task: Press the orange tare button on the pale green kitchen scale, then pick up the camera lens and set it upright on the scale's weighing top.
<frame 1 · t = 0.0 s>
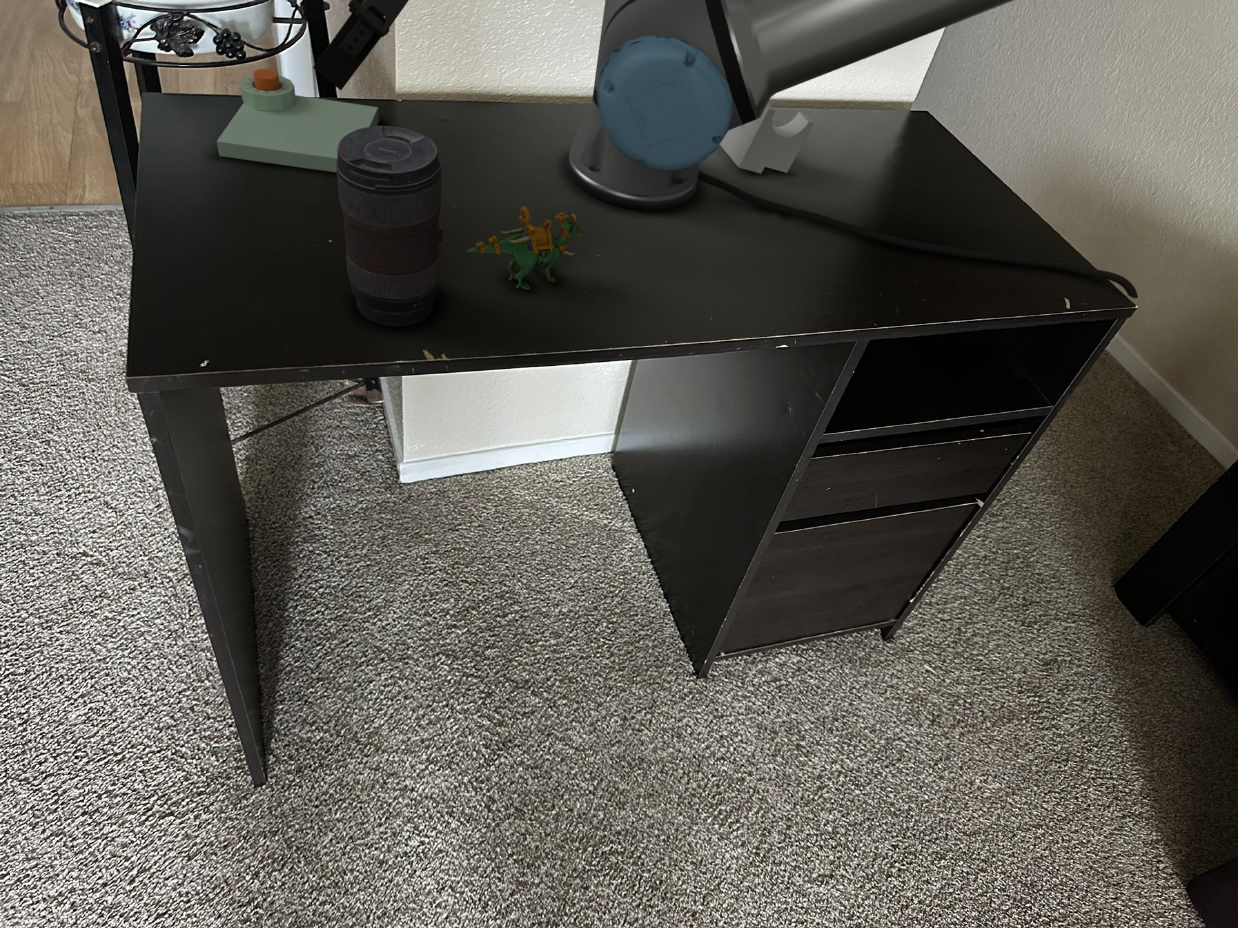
hand: (345, 47, 78), 15 cm above the table, tool tilted 35°, fingers open, 13 cm apart
camera lens: (394, 305, 78), on the table
scale: (303, 138, 96), on the table
tare button: (266, 81, 96), point 4 cm above the table, slide at 0.1 cm
bracket: (745, 149, 112), on the table
figurine: (522, 284, 84), on the table
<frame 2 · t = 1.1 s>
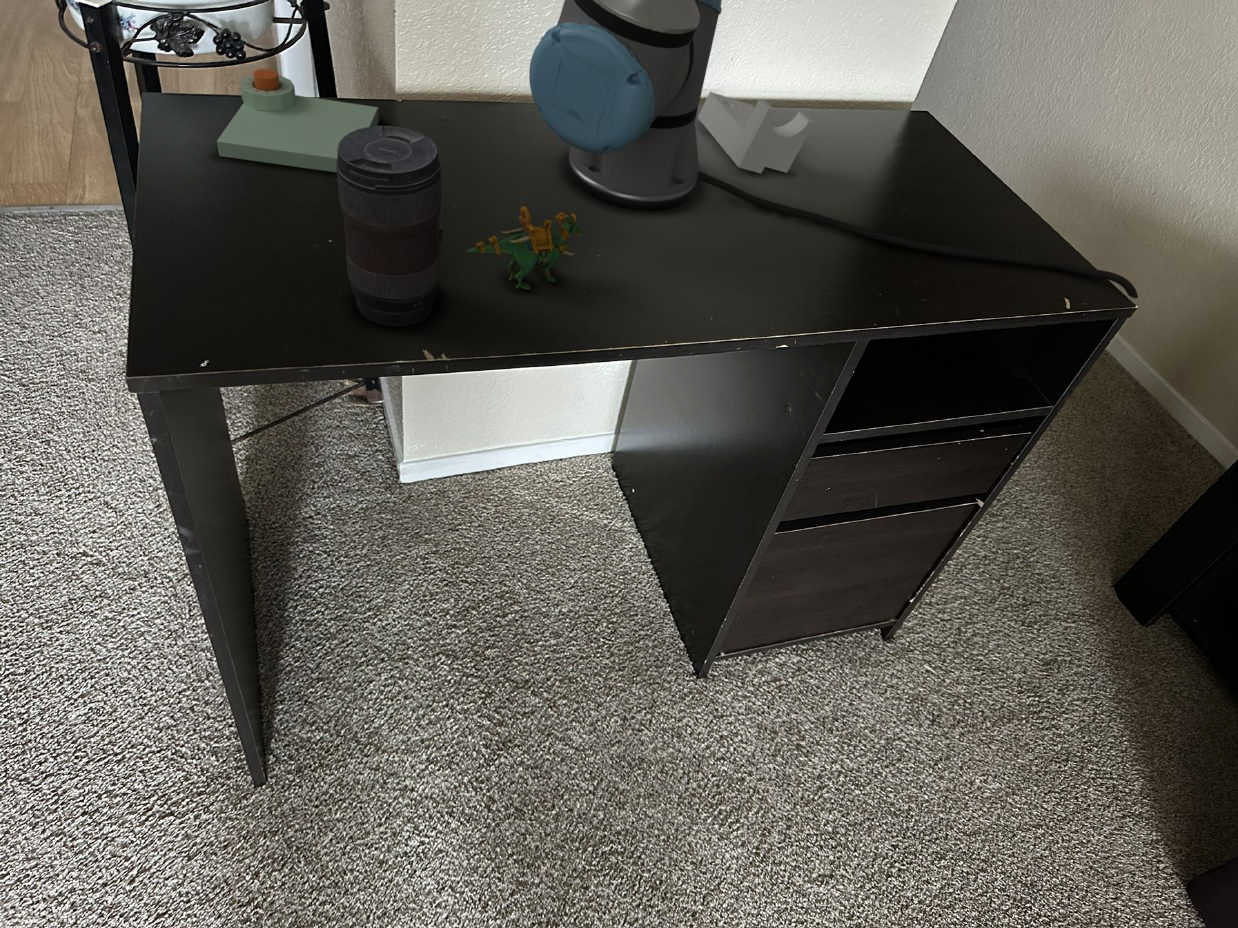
nothing on the table moved.
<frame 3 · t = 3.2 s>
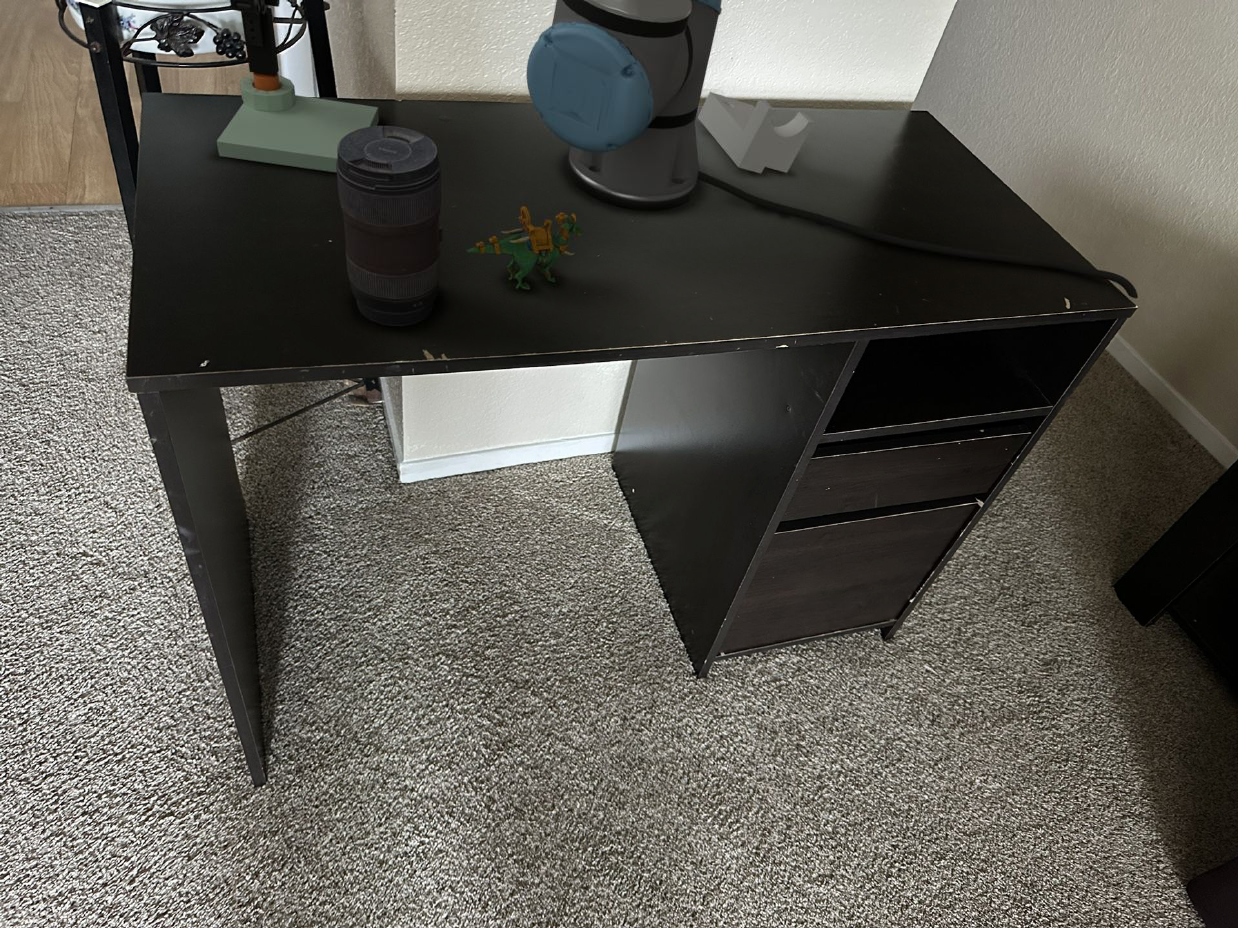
hand: (264, 71, 95), 5 cm above the table, tool pointing down, fingers closed
tare button: (266, 81, 96), point 4 cm above the table, slide at 0.1 cm, touching gripper
everything else where it was.
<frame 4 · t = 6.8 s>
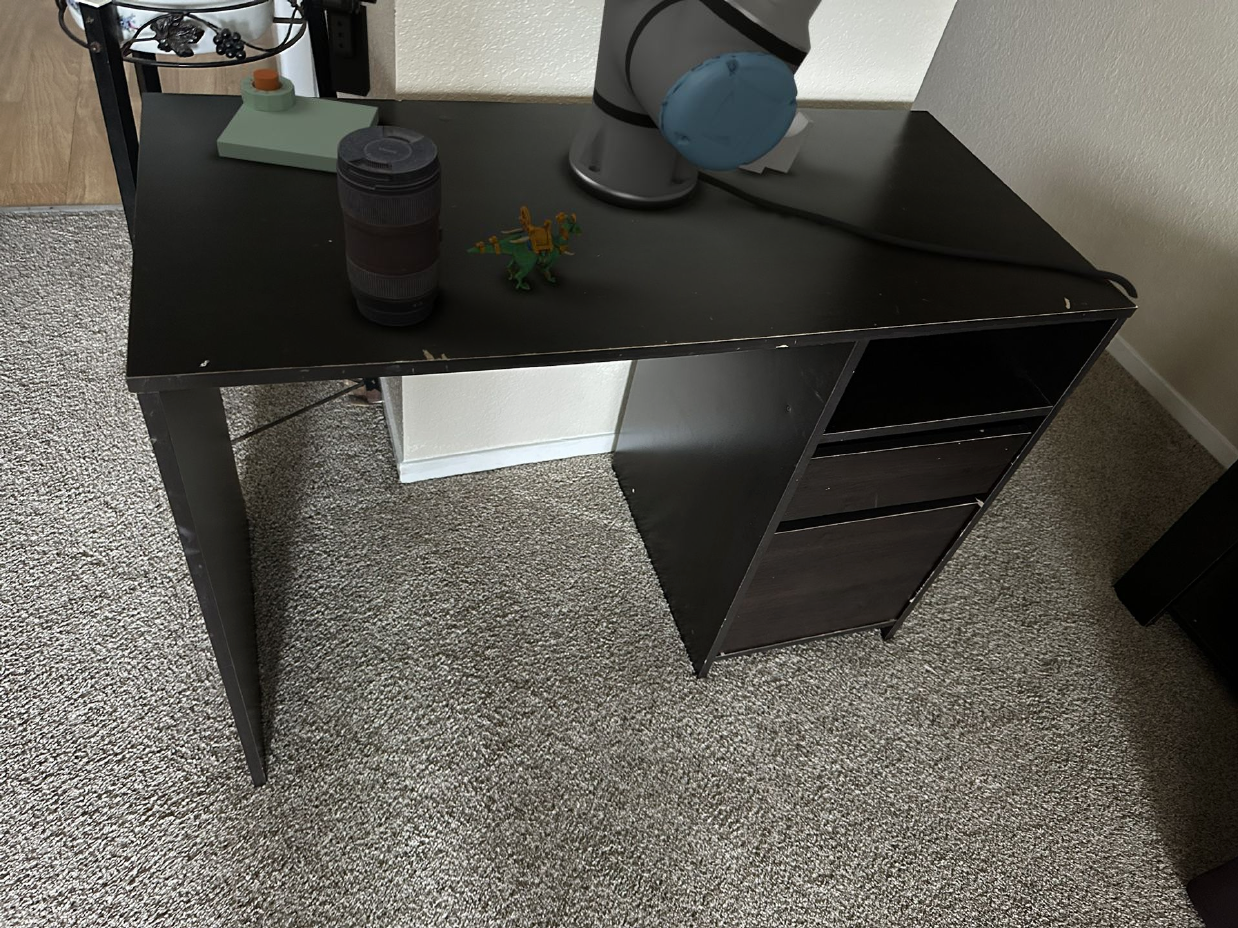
hand: (351, 90, 71), 16 cm above the table, tool pointing down, fingers closed
tare button: (266, 81, 96), point 4 cm above the table, slide at 0.1 cm
everything else where it was.
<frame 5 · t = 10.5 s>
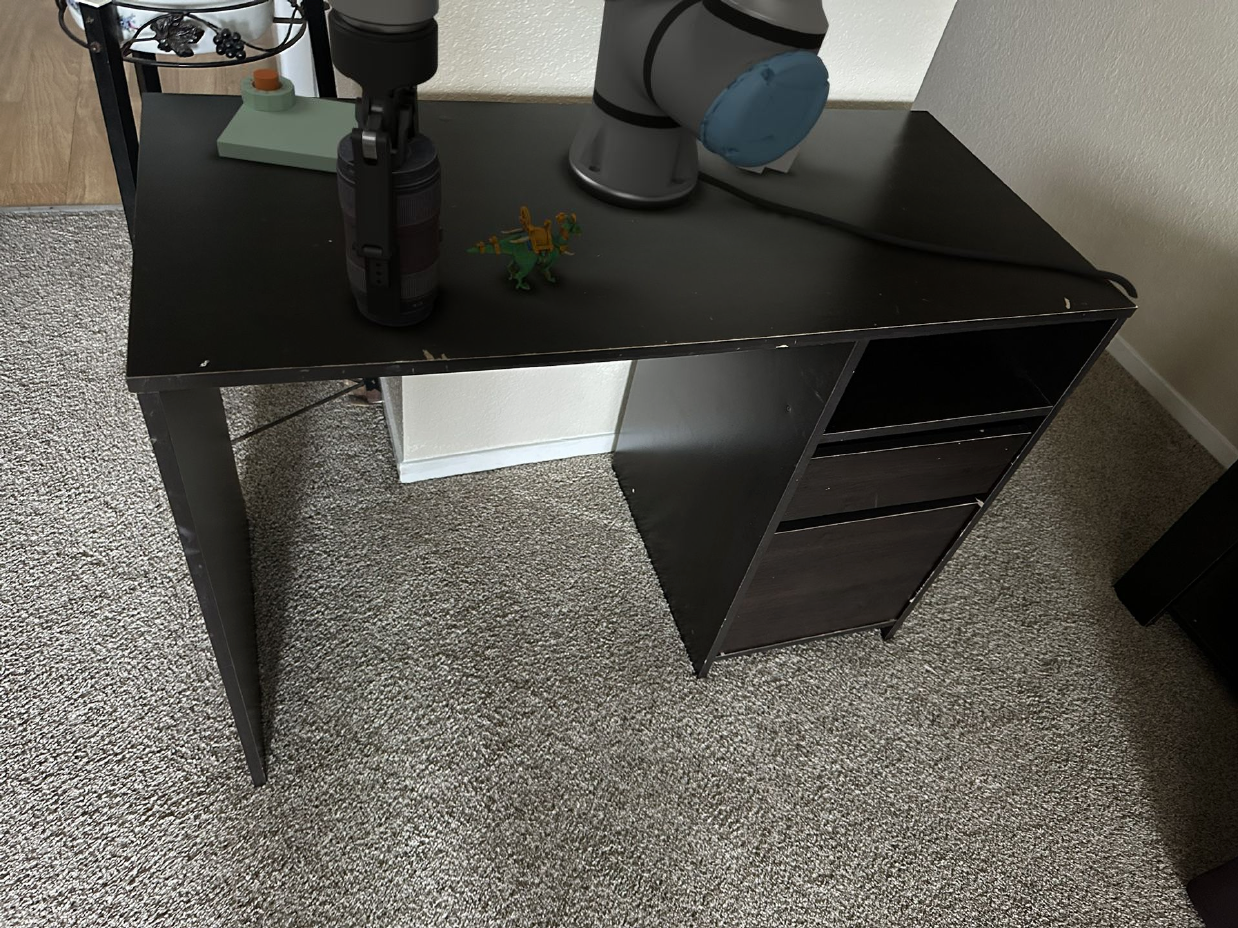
hand: (394, 283, 77), 2 cm above the table, tool pointing down, fingers closed on camera lens, 8 cm apart
camera lens: (395, 305, 78), on the table, touching gripper
everything else where it was.
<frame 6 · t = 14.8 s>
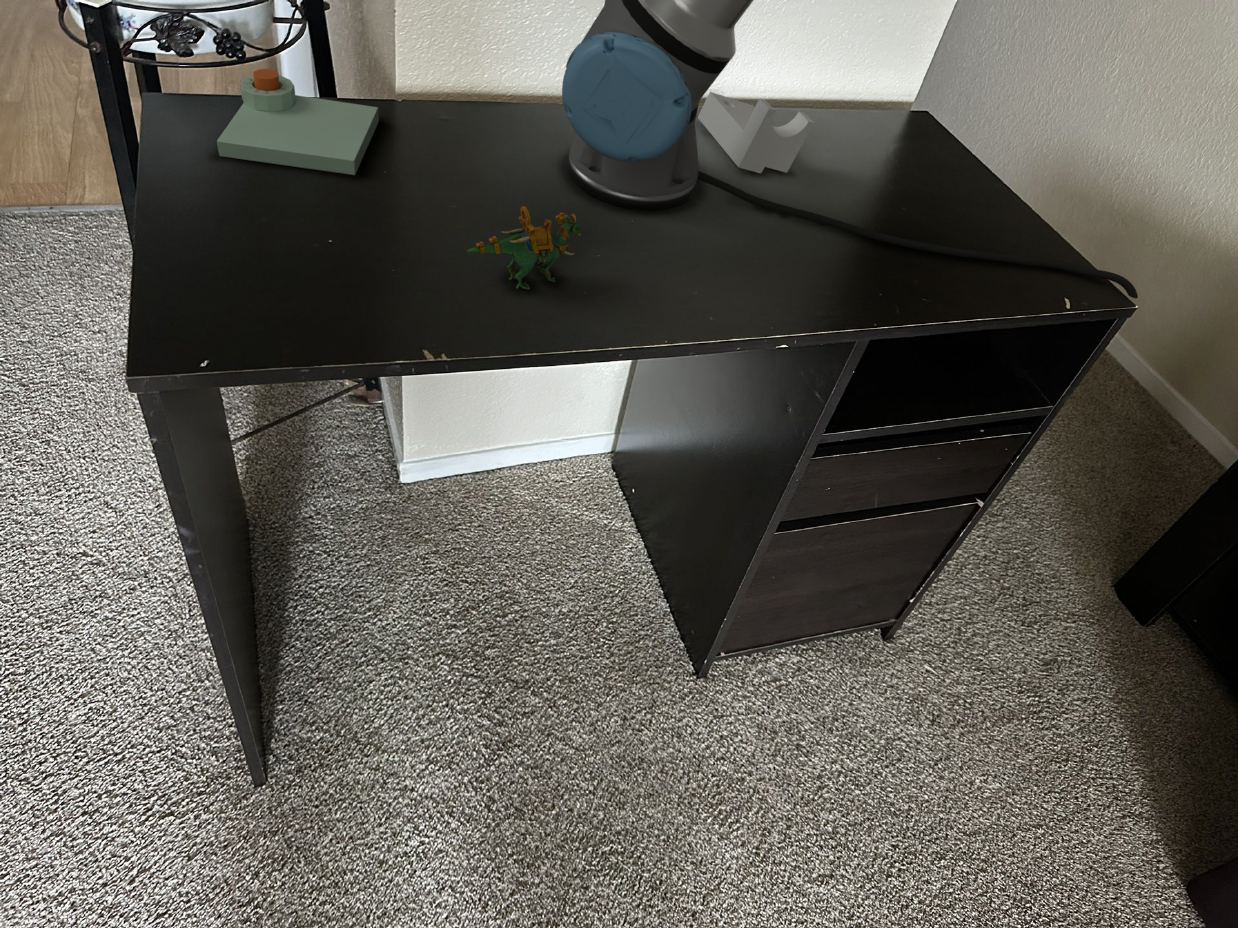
when the fingers open (4 cm above the table, at t = 19.5 s): camera lens stays where it is, resting on scale.
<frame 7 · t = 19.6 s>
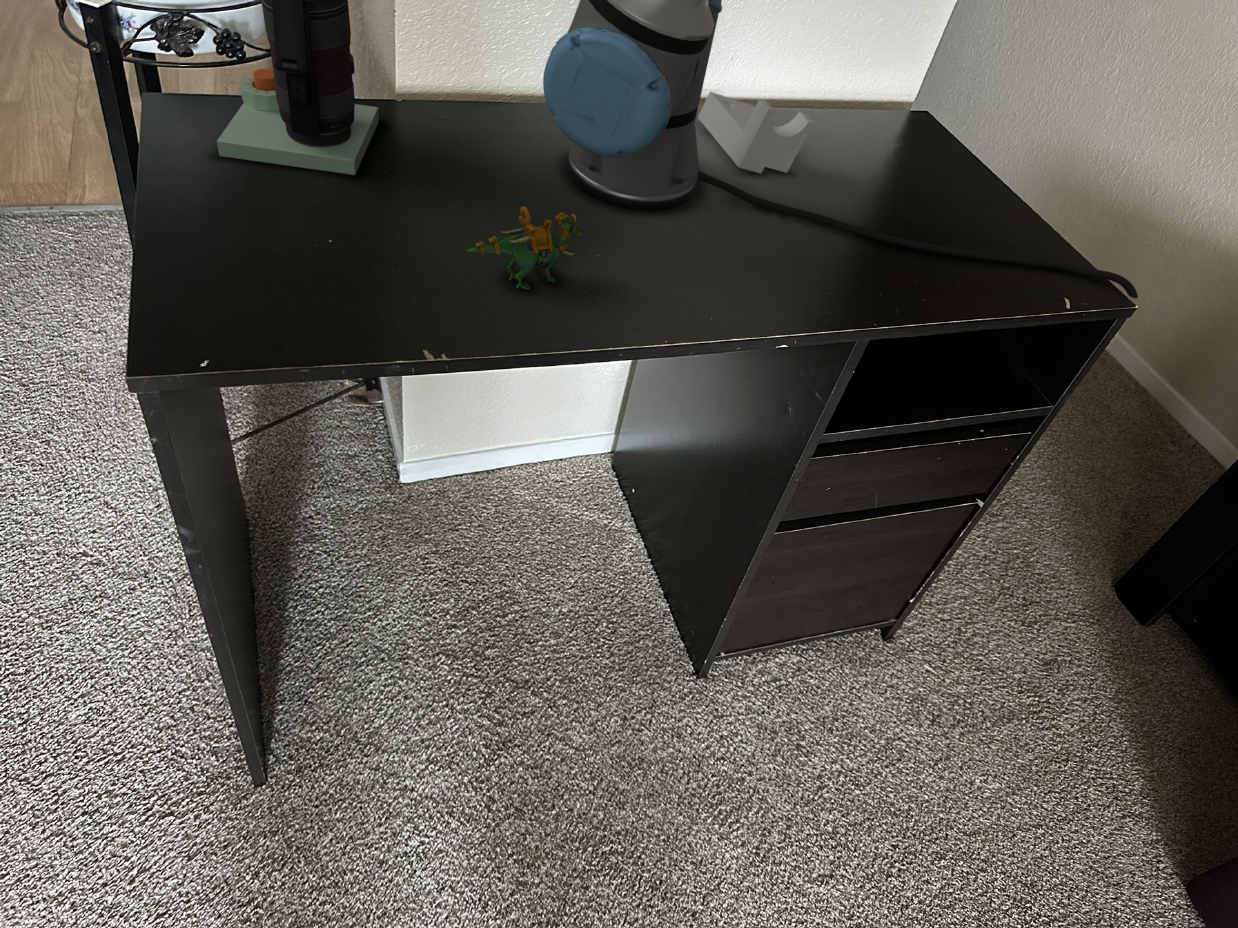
hand: (317, 114, 93), 4 cm above the table, tool pointing down, fingers open, 8 cm apart
camera lens: (318, 134, 94), point 2 cm above the table, touching scale
everything else where it was.
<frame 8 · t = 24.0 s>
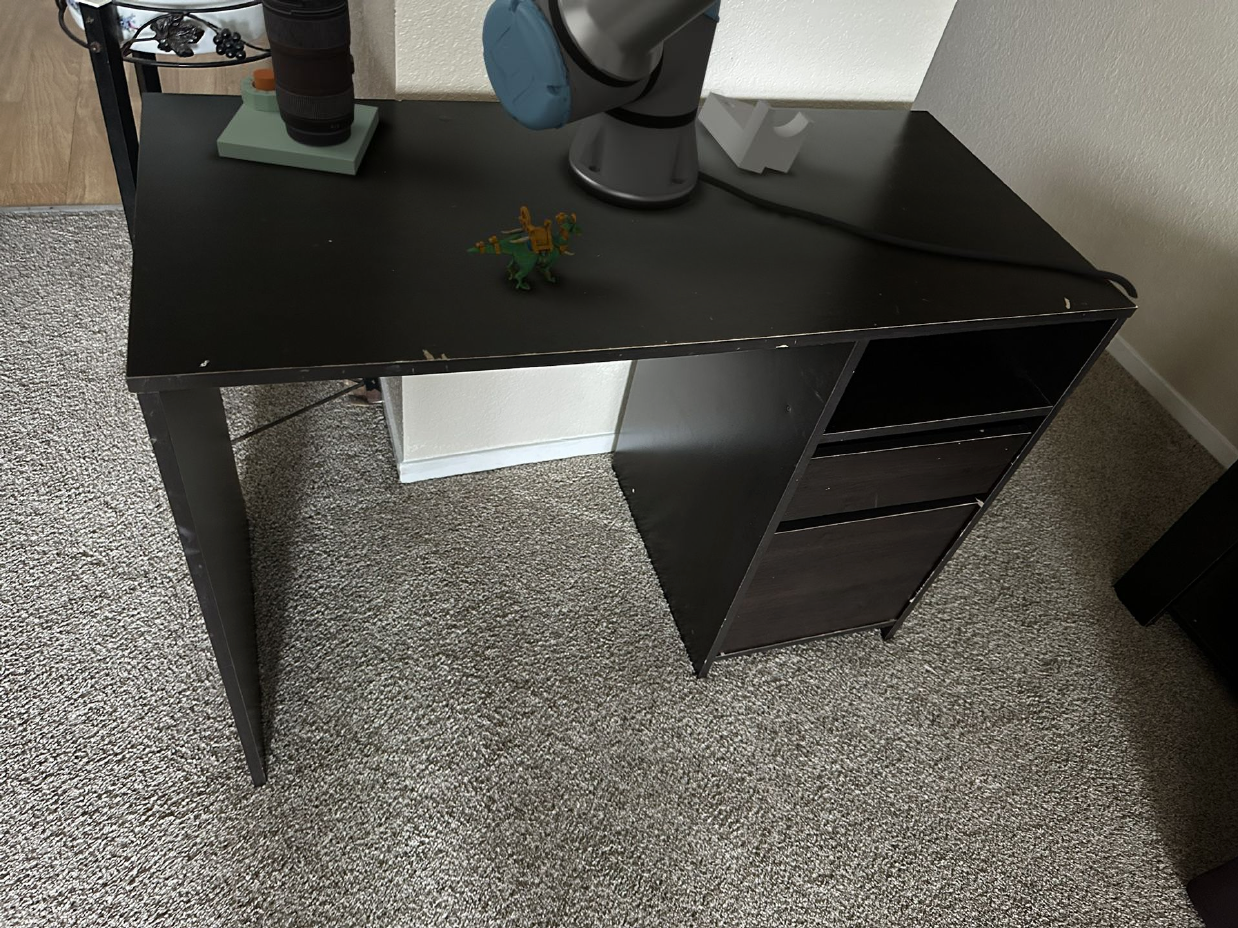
nothing on the table moved.
at the end: tare button pushed in 1.0 cm at the most during the clip, back to where it started at the end; camera lens inside the target area on the scale (0.1 cm from its centre), point 1.5 cm above the scale's base; camera lens tilted 0° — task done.
